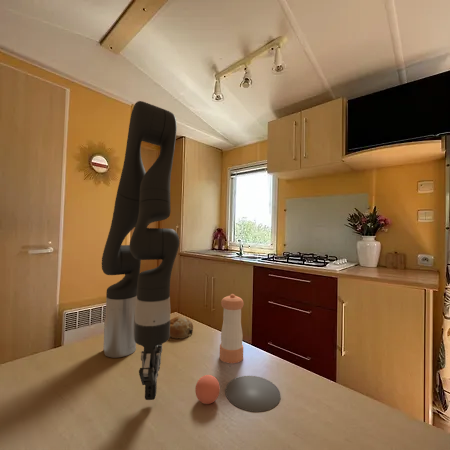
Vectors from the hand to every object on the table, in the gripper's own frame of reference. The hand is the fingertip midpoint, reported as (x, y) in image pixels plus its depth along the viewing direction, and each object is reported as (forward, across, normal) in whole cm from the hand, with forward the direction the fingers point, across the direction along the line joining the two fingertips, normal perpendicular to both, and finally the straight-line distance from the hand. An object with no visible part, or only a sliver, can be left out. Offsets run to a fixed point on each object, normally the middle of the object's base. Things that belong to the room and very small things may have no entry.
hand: (150, 397), depth 55 cm
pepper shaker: (+2, +20, -20) cm, 28 cm away
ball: (-1, 0, -12) cm, 13 cm away
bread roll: (+2, +38, -2) cm, 38 cm away
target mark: (+2, +3, -23) cm, 24 cm away
